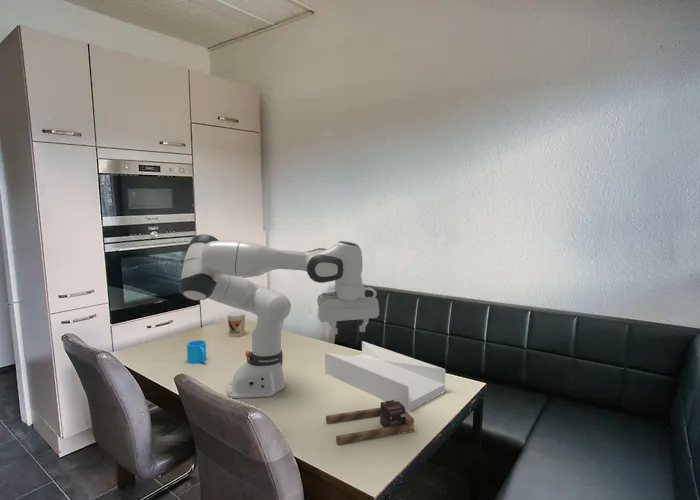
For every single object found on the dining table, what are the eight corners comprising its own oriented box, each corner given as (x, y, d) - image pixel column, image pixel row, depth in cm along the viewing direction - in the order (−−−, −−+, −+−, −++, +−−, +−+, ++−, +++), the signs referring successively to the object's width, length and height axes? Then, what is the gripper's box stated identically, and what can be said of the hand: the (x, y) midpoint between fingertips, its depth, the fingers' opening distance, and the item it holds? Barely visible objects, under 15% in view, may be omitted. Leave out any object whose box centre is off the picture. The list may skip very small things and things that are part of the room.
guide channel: (337, 445, 122) (337, 432, 121) (325, 421, 135) (325, 409, 134) (413, 431, 129) (414, 419, 129) (395, 410, 142) (395, 399, 142)
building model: (444, 393, 157) (445, 369, 156) (408, 412, 142) (408, 386, 141) (361, 360, 189) (362, 341, 188) (325, 374, 174) (324, 352, 173)
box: (388, 432, 128) (388, 410, 127) (379, 423, 134) (380, 402, 133) (405, 429, 130) (405, 407, 130) (396, 420, 136) (396, 398, 135)
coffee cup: (225, 337, 222) (224, 315, 221) (232, 332, 231) (232, 311, 230) (241, 338, 220) (240, 316, 219) (248, 332, 230) (247, 311, 228)
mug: (184, 360, 188) (183, 343, 187) (201, 355, 194) (200, 339, 193) (196, 367, 180) (196, 349, 179) (213, 362, 186) (213, 344, 185)
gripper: (319, 295, 127) (319, 338, 129) (381, 291, 133) (380, 332, 134) (315, 291, 133) (315, 332, 135) (374, 287, 139) (374, 327, 140)
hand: (348, 332), depth 135 cm, fingers open, 8 cm apart
